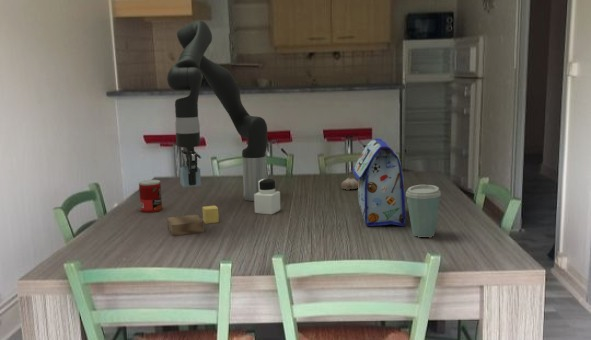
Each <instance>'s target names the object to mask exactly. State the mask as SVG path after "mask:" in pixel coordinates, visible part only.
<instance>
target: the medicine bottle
mask: <svg viewBox="0 0 591 340" xmlns="http://www.w3.org/2000/svg"><path fill="white" fill-rule="evenodd" d="M258 185H259V191H260V192H258V193H256V194H254V201H253V202H254V203H253V204H254V213H255V214H263V215H272V216H273V215H274V214H276V213H278V212H279V211H281V192H280V191H278V190H276V181H275V180H274V178H273V179H272V178H268V179H262V180H260V181H259V182H258Z"/></svg>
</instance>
